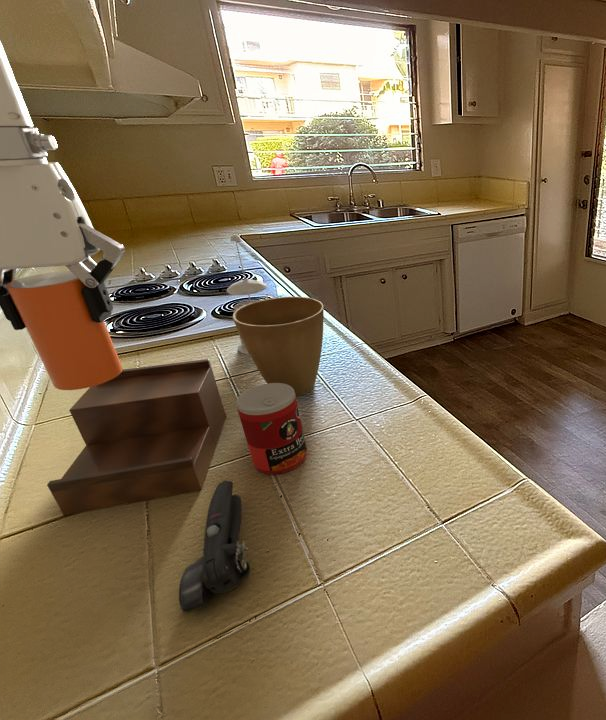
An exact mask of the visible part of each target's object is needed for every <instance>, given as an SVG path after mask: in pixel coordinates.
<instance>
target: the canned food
mask: <svg viewBox="0 0 606 720" xmlns="http://www.w3.org/2000/svg"><path fill="white" fill-rule="evenodd" d="M235 404H236V410H237V413H238V417H239V421H240V425H241V427H242V430H243V435H244V438H245V441H246V444H247V448H248V450H249V454H250V455H249V456H250V458H251V461H252V464H253V465H254V467H255V468H256V470H258V471H259V472H260V473H263V474H266V475H277V474H278V475H280V474H283V473H288V472H290V471H293V470H294V469H296V468H297V467H300V465H301V464H302V463H303V462H304V460H306V457H307V452H308V447H307V441H306V437H305V433H304V428H303V427H304V426H303V423H302V418H301V413H300V408H299V404H298V400H297V396H296V395H295V392H294V389H293V388H292V387H291V386H289V385H287V384H283V383H268V384H267V383H262V384H259V385H255V386H253V387H250V388H248V389H246V390H245V391H243V392H242V393H240V394H239V395H238V397H237V398H236V401H235Z"/></svg>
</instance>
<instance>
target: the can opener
mask: <svg viewBox="0 0 606 720" xmlns="http://www.w3.org/2000/svg"><path fill="white" fill-rule="evenodd" d="M233 488H234V483H233V481H231V480H223V481H221V482H220V483H218V484H217V485H216V487H215V489H214V491H213V494H212V497H211V500H210V503H209V507H208V511H207V516H206V522H205V529H204V539H203V552H202V556H201V557H200V558H198V559H197V560H195V561H194V562H192V563H190V564H189V565H188V566H187V567H186V568H185V569H184V571H183V573H182V575H181V578H180V582H179V587H178V601H179V606H180V609H181V611H182V612H183V613H189V612H193V611H196V610H198V609H201V608H206V607H208V606H209V605H210V604H211V603H212V600H213V598H214V596H215V594H224V593H227V592H230V591H231V590H233V589H235V588H236V587H238V586H240V585H241V583H242V582H243V581H244V580H245V579H246V578H247V577H248V576H249V575H250V573H251V566H250V564H249V562H248V561H247V560H246V558H245V554H246V551H247V552H248V550H249V547H246V545H245V544H246V543H245V541H244V540H242V542H241V543H240V541H239V540H240V529H241V521H242V500H241V496H240V495H238V494H233Z"/></svg>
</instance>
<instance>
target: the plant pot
mask: <svg viewBox="0 0 606 720" xmlns="http://www.w3.org/2000/svg"><path fill="white" fill-rule="evenodd" d="M260 300H261V301H257V302H254V303H250V304H247V305H245V306H243V307H241V308H239V309H237V310H234V312H233V314H232V320H233V323H234V325H235V327H236V329H237V332H239V333H238V335H239V334H240V336H239V338H240V337H241V339H242V341H243V343H244V345H245V347H246V349H247V351H248V353H249V354H248V355H249V357H250V358H251V361H252V362H253V364H254V366H255V367H256V369H257V371H258V372H259V373H260V375H261V376H262V378H263V380H264V382H265V383H266V384H268V383H283V384H287V385H289V386H291V387H292V388H293V389H294V392H295V395H296V397H300V396H302V395H306V394H307V393H310V391H312V390H313V389H314V387H315V385H316V381H317V377H318V373H319V367H320V362H321V356H322V349H323V340H324V317H325V316H324V304H323V303H322V302H321V301H320V300H318V299H315V298H311V297H306V296H281V297H280V296H279V297H275V298H273V297H271V298H269V299H266V298H265V299H263V300H262V299H260Z"/></svg>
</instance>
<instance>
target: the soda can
mask: <svg viewBox="0 0 606 720" xmlns="http://www.w3.org/2000/svg"><path fill="white" fill-rule="evenodd" d="M6 287H7V289H8V291H9V293H10V295H11V297H12V299H13V301H14V304H15V306H16V308H17V310H18V312H19V314H20V316H21V318H22V320H23V322H24V324H25V329H26V330H27V333H28V335H29V337H30V339H31V341H32V344H33V346H34V348H35V350H36V352H37V354H38V356H39V357H40V360H41V362H42V364H43V366H44V368H45V370H46V373H47V375H48V377H49V379H50V381H51V383H52V385H53V387H54V388H55V389H57V390H59V391H60V390H61V391H77V390H83V389H89V388H90V387H92V386H96V385H99V384H102V383H105V382H107V381H109V380H111V379H113V378H115V377H116V376H118V375H119V374H120V373H121V372H122V370H123V369H124V368H123V365H122V363H121V360H120V358H119V356H118V353H117V350H116V347H115V345H114V342H113V339H112V338H111V337H112V336H111V334H110V332H109V330H108V326H107V324H106V322H105V320H104V321H103V322H99V323H96V322H94V321H93V319H92V317H91V314H90V312H89V309H88V307H87V305H86V302H85V300H84V297H83V295H82V292H81V291H82V289H83V288H85V285H84V283H83V282H82V281H81V280H79V279H78V278H77V277H76V276H75V275H74V274H73V273H72V272H71V271H70V270H67V271H66V270H65V271H53V272H45V273H40V274H34V275H29V276H25V277H21V278H18V279H15V281H12V282H10V283H8V284H7V286H6Z"/></svg>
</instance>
